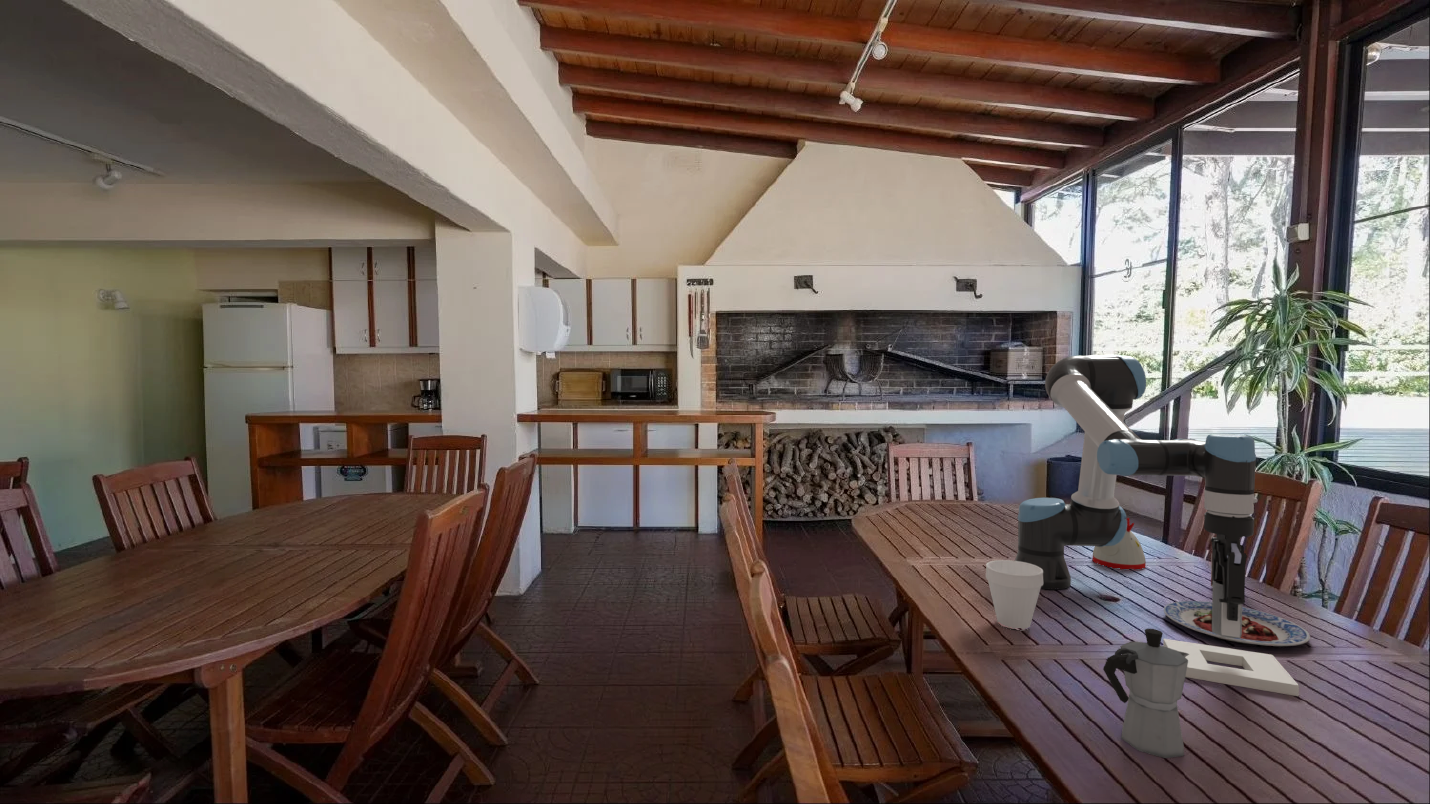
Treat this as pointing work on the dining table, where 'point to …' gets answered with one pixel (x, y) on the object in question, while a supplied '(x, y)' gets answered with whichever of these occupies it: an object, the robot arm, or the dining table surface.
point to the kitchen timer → (1122, 552)
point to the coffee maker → (1150, 694)
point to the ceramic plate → (1254, 624)
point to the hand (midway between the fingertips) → (1226, 630)
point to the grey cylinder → (1220, 608)
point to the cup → (1014, 591)
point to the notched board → (1257, 673)
